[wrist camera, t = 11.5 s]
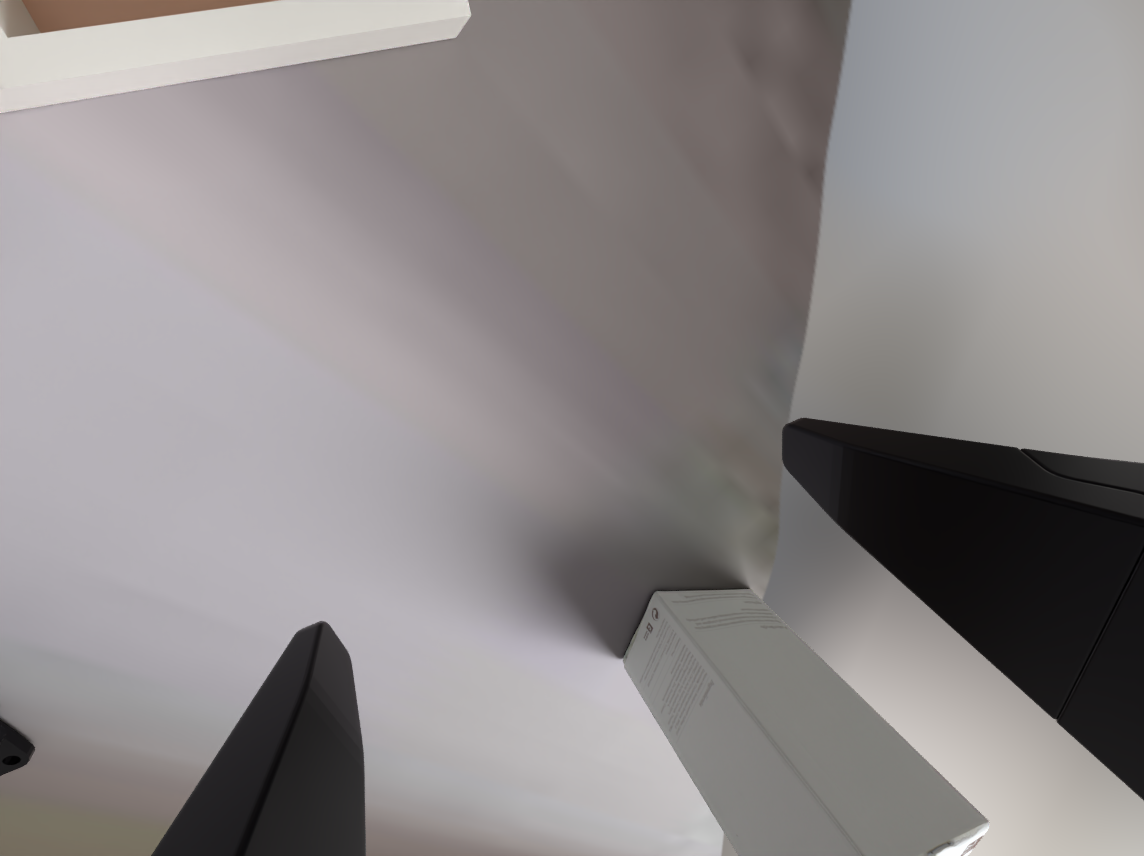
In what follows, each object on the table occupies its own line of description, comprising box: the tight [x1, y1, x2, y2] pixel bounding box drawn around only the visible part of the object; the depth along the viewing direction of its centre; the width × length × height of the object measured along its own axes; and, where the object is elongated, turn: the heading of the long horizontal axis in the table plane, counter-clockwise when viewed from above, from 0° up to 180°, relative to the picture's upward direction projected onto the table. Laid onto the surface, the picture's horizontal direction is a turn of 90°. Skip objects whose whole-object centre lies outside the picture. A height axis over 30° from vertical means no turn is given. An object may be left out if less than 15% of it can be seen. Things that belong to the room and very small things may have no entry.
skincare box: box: [623, 589, 989, 856], centre depth 25 cm, size 8×6×15 cm
